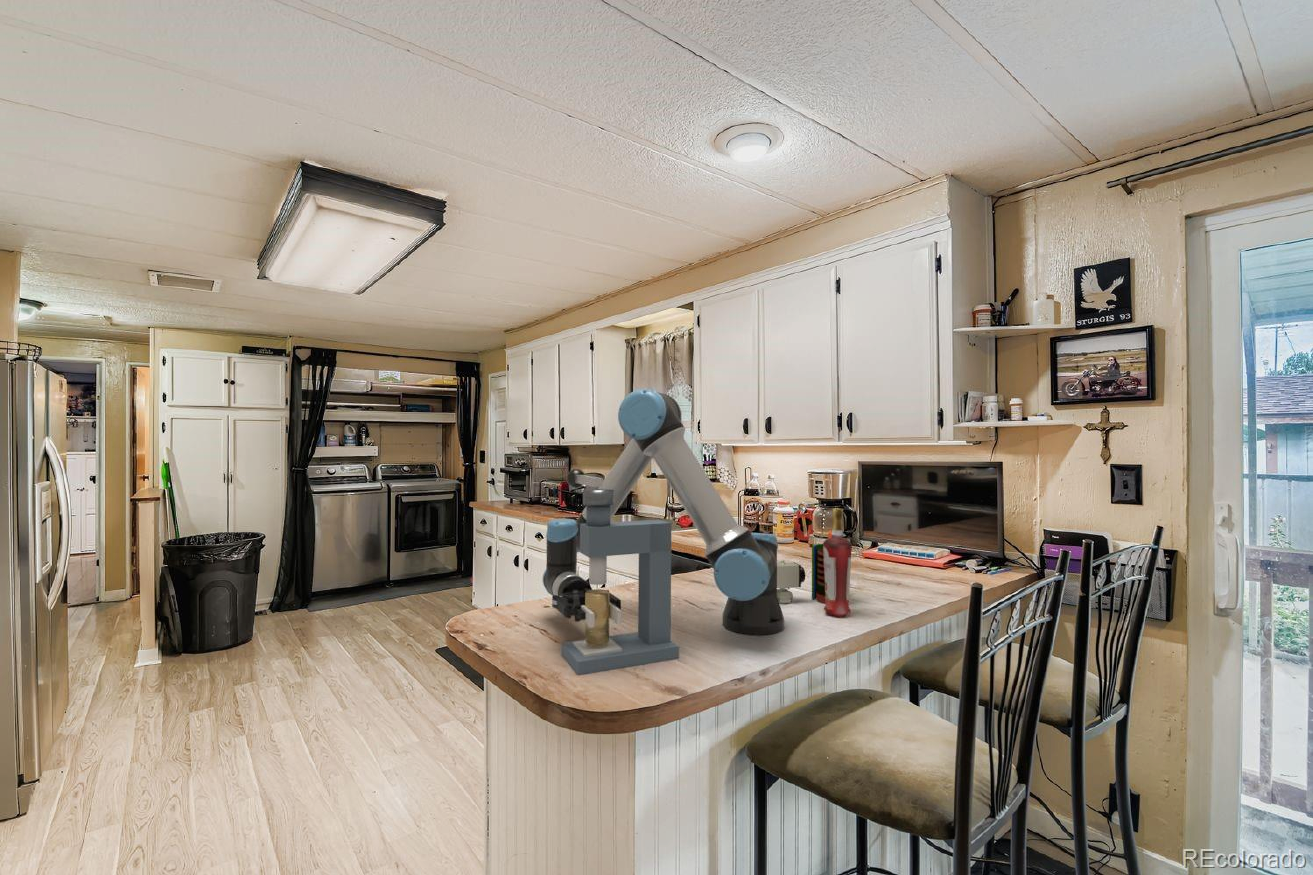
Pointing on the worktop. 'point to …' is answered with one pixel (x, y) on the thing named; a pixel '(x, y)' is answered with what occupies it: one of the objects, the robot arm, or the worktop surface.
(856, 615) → the worktop surface
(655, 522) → the press frame
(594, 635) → the cylinder
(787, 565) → the pneumatic valve
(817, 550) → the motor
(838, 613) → the liquor
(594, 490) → the lever
